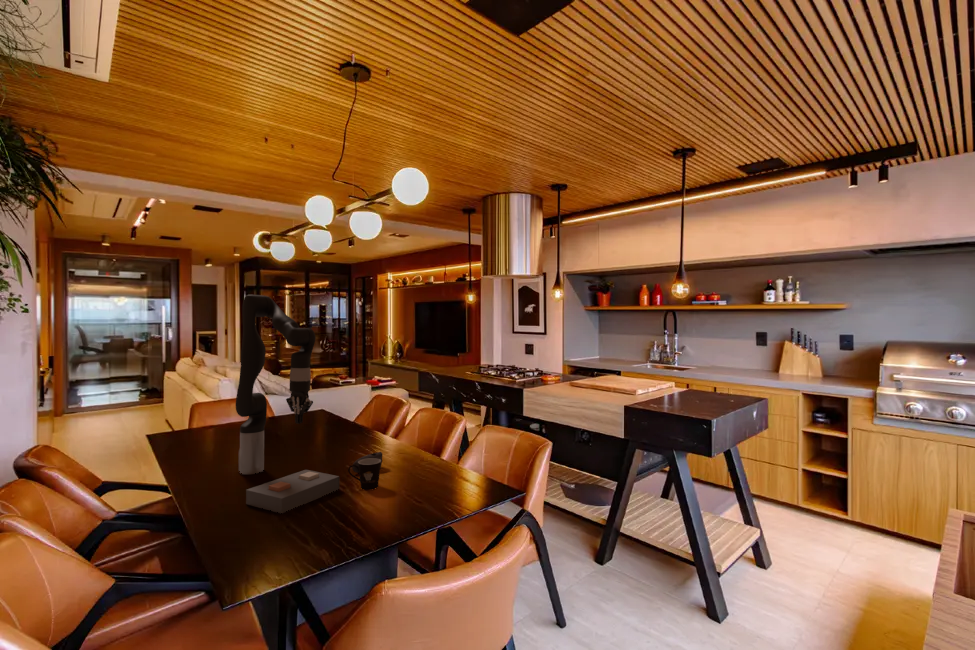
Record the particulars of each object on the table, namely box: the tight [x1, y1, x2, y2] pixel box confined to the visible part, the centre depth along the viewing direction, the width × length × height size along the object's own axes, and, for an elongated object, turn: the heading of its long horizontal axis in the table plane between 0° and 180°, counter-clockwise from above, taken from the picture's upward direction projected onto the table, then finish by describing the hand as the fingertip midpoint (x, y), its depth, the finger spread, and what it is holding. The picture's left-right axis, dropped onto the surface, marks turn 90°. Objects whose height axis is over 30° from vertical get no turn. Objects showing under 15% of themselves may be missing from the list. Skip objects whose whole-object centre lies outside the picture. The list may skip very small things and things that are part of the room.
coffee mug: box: [347, 458, 382, 491], centre depth 182 cm, size 12×9×10 cm
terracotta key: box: [269, 482, 291, 492], centre depth 166 cm, size 5×5×4 cm
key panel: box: [245, 469, 340, 514], centre depth 172 cm, size 18×26×5 cm
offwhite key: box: [299, 472, 319, 481], centre depth 178 cm, size 5×5×4 cm
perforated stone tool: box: [351, 451, 383, 474], centre depth 203 cm, size 15×5×7 cm, turn 134°
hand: (298, 423), depth 184 cm, fingers closed
